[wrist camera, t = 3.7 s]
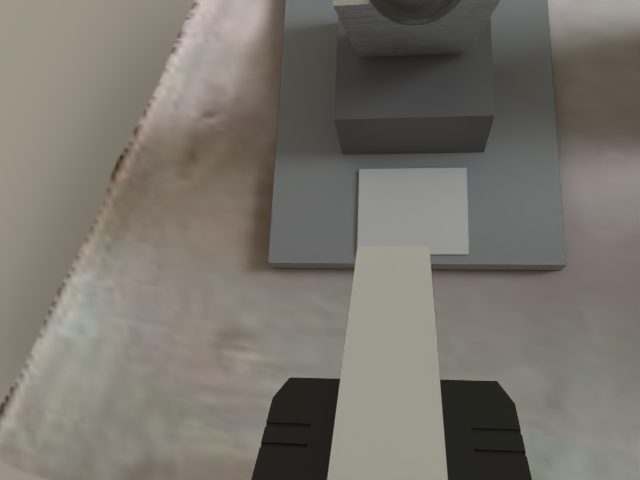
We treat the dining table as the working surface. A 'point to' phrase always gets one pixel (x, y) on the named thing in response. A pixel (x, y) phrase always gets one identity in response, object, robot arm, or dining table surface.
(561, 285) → the dining table surface
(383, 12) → the toggle lever
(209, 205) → the dining table surface
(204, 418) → the dining table surface
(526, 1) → the switch board
